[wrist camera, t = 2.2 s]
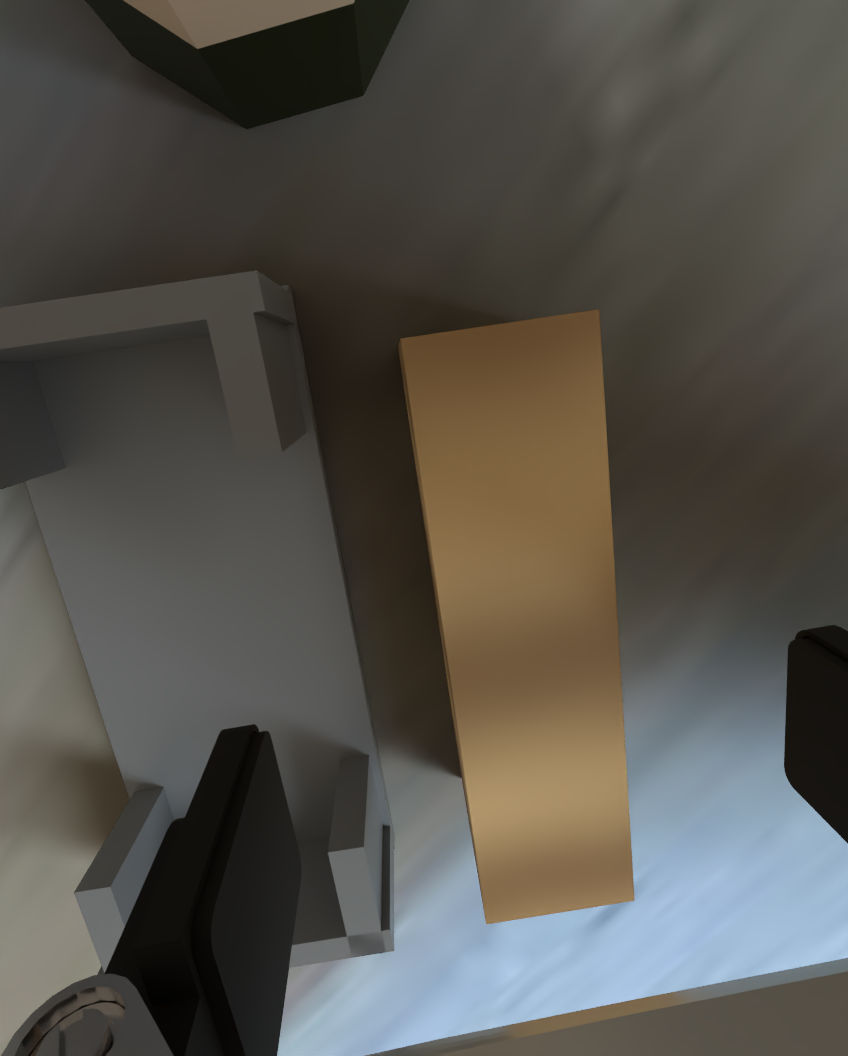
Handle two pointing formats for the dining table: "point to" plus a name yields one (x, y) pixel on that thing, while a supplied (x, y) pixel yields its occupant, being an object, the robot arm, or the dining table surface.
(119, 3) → the wine bottle
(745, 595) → the dining table surface
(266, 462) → the end-cap rail
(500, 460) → the slat
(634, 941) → the dining table surface
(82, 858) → the dining table surface
